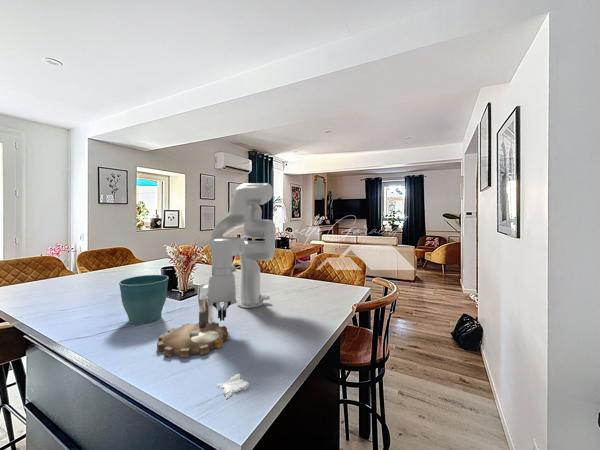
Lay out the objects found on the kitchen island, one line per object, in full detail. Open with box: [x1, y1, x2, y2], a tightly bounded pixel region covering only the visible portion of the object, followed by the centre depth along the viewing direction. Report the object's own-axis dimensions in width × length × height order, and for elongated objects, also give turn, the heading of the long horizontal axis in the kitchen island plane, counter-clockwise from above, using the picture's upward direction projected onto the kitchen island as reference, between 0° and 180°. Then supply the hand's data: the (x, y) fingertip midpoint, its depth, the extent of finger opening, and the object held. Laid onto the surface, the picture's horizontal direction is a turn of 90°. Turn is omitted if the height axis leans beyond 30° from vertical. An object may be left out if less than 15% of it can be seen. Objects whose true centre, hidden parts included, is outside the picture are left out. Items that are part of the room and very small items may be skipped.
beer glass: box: [197, 283, 215, 324], centre depth 112 cm, size 7×7×15 cm
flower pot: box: [118, 274, 169, 325], centre depth 114 cm, size 18×18×17 cm
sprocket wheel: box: [156, 310, 229, 358], centre depth 94 cm, size 23×23×8 cm
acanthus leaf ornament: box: [216, 372, 249, 400], centre depth 69 cm, size 8×7×2 cm
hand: (222, 319), depth 103 cm, fingers closed
